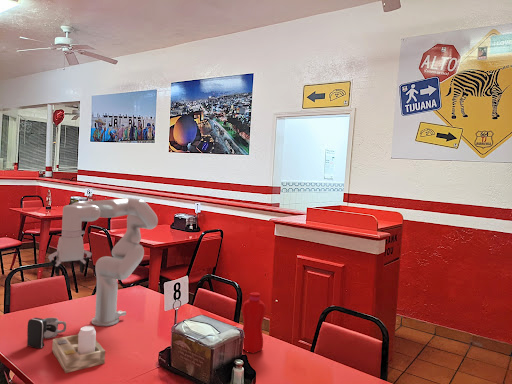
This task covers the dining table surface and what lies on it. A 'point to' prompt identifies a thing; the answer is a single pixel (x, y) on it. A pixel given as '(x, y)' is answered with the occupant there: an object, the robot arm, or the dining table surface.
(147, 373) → the dining table surface
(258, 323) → the water bottle
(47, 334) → the mug
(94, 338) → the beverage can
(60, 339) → the holder block
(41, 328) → the battery charger
